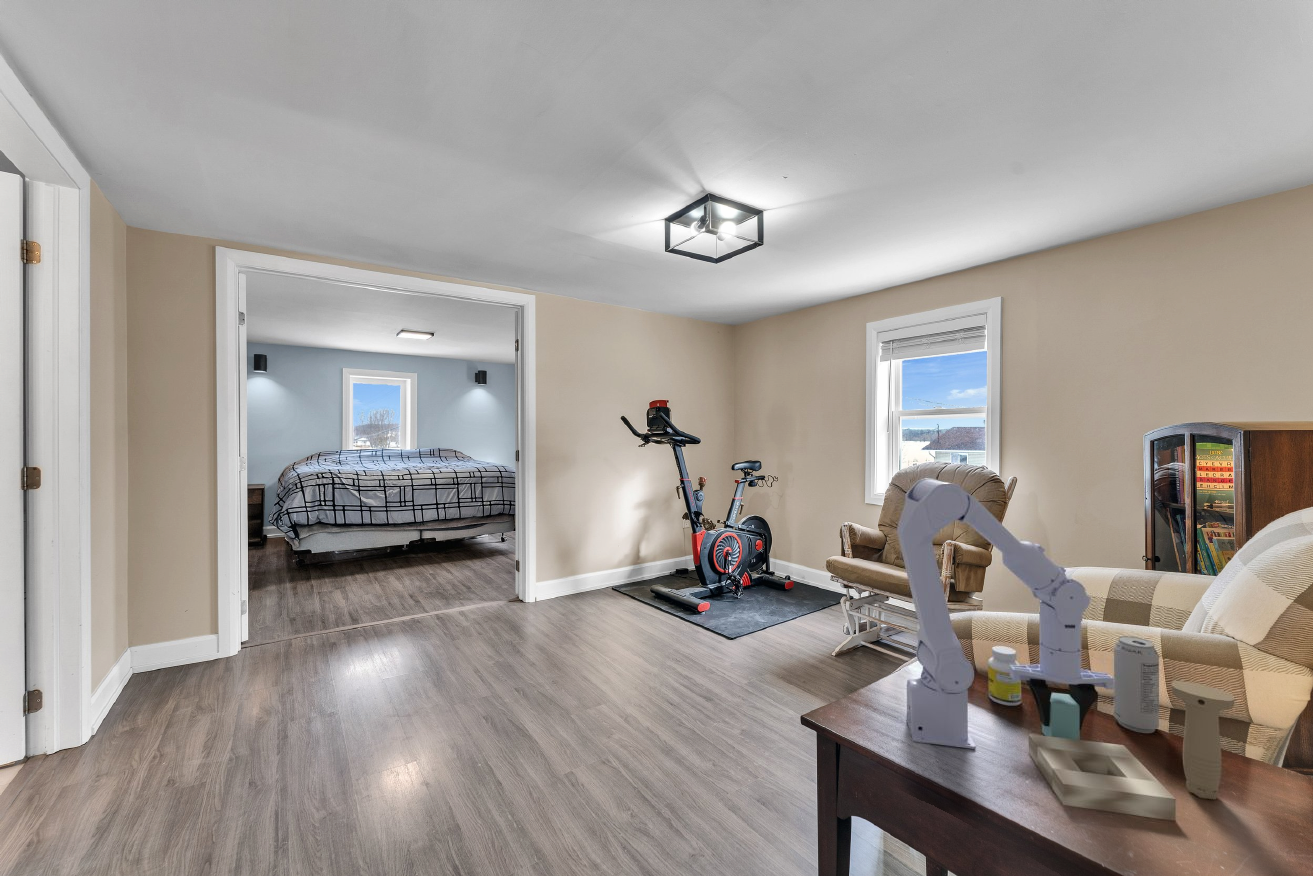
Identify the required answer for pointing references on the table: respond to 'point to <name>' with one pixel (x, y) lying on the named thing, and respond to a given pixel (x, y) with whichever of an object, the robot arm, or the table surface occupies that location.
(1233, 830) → the table surface
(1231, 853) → the table surface
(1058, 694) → the peg
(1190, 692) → the handle
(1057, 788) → the socket block
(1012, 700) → the supplement bottle
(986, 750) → the table surface
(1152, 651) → the energy drink can
